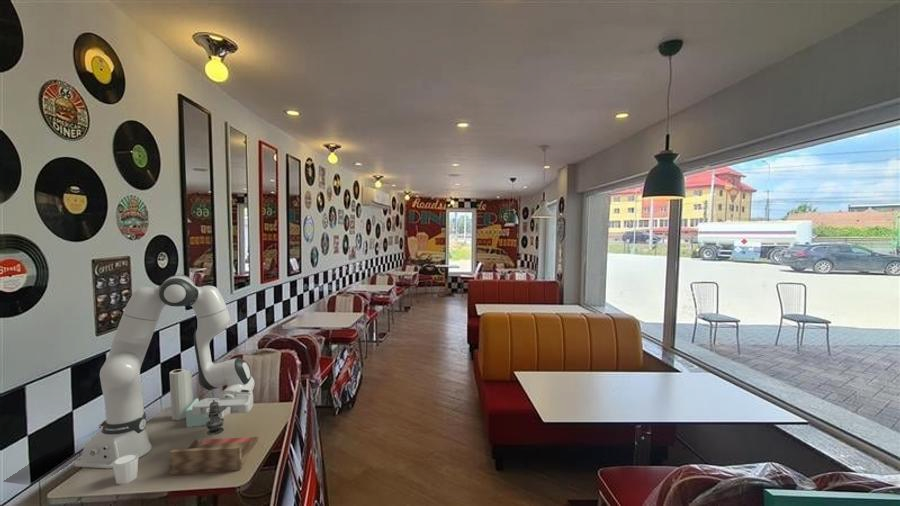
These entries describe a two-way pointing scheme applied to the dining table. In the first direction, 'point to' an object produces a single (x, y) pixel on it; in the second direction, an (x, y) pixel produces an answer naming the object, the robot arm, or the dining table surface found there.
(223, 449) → the tray
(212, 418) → the stone chess piece
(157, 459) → the dining table surface
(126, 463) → the white tapered cup
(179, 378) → the paper towel roll
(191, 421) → the l-shaped corner panel
